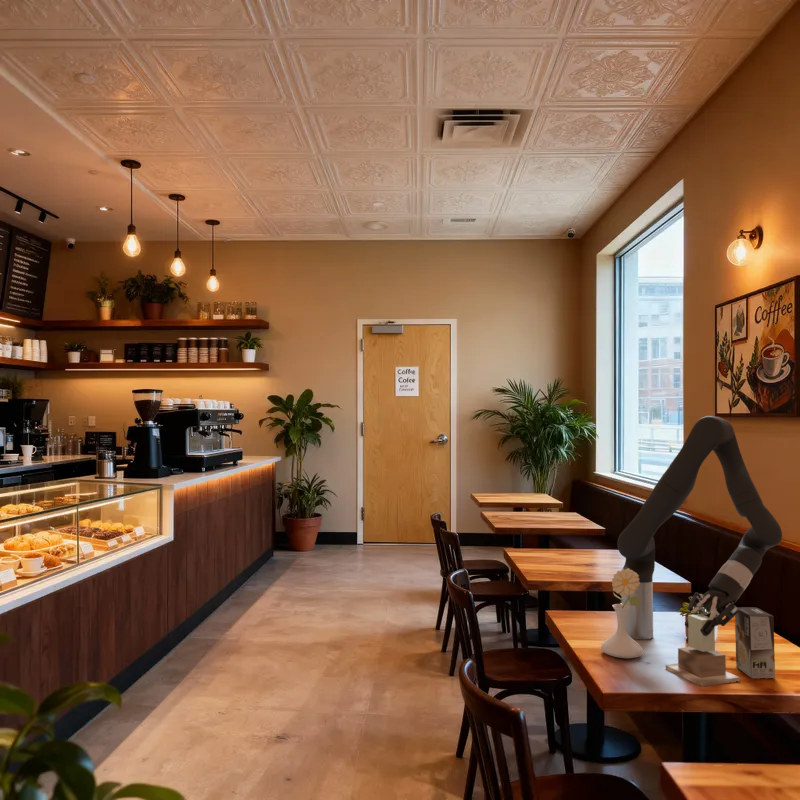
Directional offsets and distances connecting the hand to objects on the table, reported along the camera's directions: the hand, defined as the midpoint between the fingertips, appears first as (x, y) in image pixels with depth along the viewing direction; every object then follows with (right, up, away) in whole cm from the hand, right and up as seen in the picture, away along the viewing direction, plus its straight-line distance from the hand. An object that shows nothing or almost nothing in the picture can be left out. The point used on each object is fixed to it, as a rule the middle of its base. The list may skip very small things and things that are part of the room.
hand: (695, 630), depth 173 cm
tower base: (+2, -12, 0) cm, 12 cm away
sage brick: (+2, -5, 0) cm, 5 cm away
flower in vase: (-14, -12, +14) cm, 23 cm away
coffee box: (+17, -12, +2) cm, 21 cm away
